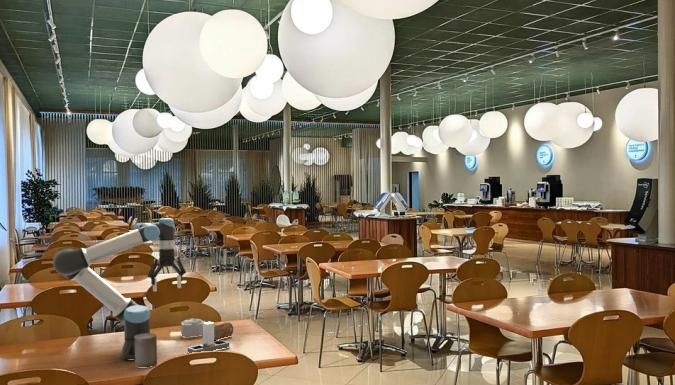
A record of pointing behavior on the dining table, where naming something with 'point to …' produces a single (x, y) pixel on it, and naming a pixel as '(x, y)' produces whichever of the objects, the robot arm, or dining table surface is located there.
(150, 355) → the pillar candle
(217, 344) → the grey compartment tray
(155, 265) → the robot arm
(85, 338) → the dining table surface
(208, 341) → the zinc square peg
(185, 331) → the lumpy-topped squat cylinder
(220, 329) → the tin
